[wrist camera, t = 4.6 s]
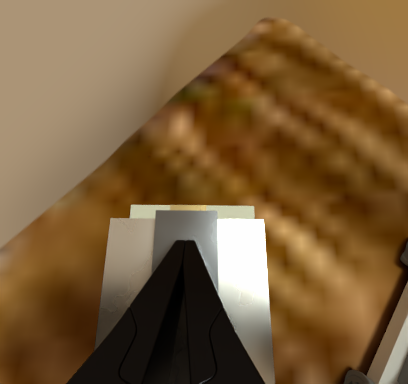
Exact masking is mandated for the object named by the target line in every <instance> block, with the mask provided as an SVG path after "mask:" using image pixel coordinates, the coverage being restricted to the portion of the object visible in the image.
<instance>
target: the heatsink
mask: <svg viewBox="0 0 408 384" xmlns="http://www.w3.org/2000/svg"><path fill="white" fill-rule="evenodd" d="M170 210H193V211H206V205H170ZM154 228H155V219H152V218H111V219H110V228H109V236H108V244H107V252H106V260H105V268H104V276H103V284H102V292H101V300H100V308H99V316H98V324H97V332H96V340H95V348H94V351H95V349H96V348H97V347H98V346H99V345H100V343H101V342H102V341H103V340H104V339H105V337H106V336H107V335H108V334H109V333H110V331H111V330H112V329H113V327H114V326H115V325H116V323H117V322H118V321H119V319H120V318H121V317H122V315H123V314H124V312H125V311H126V310H127V308H128V307H130V304H131V303H132V301H133V300H134V299H135V297H136V296H137V294H138V293H139V292H140V290H141V289H142V287H143V286H144V284H145V283H146V282H147V280H148V279H149V277H150V276H151V271H152V257H153V242H154ZM218 292H219V296H220V298H221V301H222V303H223V305H224V308H225V310H226V312H227V314H228V316H229V319H230V321H231V323H232V325H233V327H234V329H235V331H236V333H237V335H238V337H239V338H240V340H241V342H242V344H243V346H244V348H245V349H246V351H247V353H248V354H249V356H250V358H251V360H252V361H253V363H254V365H255V366H256V368H257V370H258V372H259V373H260V375H261V377H262V378H263V380H264V382H265V384H275V377H274V363H273V348H272V334H271V320H270V306H269V291H268V277H267V263H266V249H265V234H264V220H263V219H218Z"/></svg>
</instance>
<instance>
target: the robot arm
mask: <svg viewBox="0 0 408 384" xmlns="http://www.w3.org/2000/svg"><path fill="white" fill-rule="evenodd" d="M183 294H184V295H185V311H186V328H187V344H188V360H189V377H190V384H265V382H264V380H263V378H262V377H261V375H260V373H259V372H258V370H257V368H256V366H255V365H254V363H253V361H252V360H251V358H250V356H249V354H248V353H247V351H246V349H245V348H244V346H243V344H242V342H241V340H240V338H239V337H238V335H237V333H236V331H235V329H234V327H233V325H232V323H231V321H230V319H229V316H228V314H227V312H226V310H225V308H224V305H223V303H222V301H221V298H220V296H219V294H218V292H217V289H216V287H215V285H214V283H213V280H212V278H211V276H210V273H209V271H208V269H207V267H206V264H205V262H204V260H203V258H202V255H201V253H200V251H199V248H198V246H197V244H196V242H195V240H186V241H185V240H176V241H175V242H174V244H173V245H172V247H171V248H170V249H169V251H168V252H167V254H166V255H165V256H164V258H163V259H162V261H161V262H160V263H159V265H158V266H157V268H156V269H155V270H154V272H153V273H152V275H151V276H150V277H149V279H148V280H147V282H146V283H145V284H144V286H143V287H142V289H141V290H140V292H139V293H138V294H137V296H136V297H135V299H134V300H133V301H132V303H131V304H130V307H128V308H127V310H126V311H125V312H124V314H123V315H122V317H121V318H120V319H119V321H118V322H117V323H116V325H115V326H114V327H113V329H112V330H111V331H110V333H109V334H108V335H107V336H106V337H105V339H104V340H103V341H102V342H101V343H100V345H99V346H98V347H97V348H96V349H95V351H94V352H93V353H92V354H91V355H90V356H89V358H88V359H87V360H86V361H85V362H84V363H83V365H82V366H81V367H80V368H79V369H78V370H77V372H76V373H75V374H74V375H73V376H72V377H71V379H70V380H69V381H68V382H67V383H66V384H168V380H169V375H170V369H171V363H172V357H173V352H174V346H175V340H176V335H177V329H178V323H179V317H180V312H181V306H182V300H183Z"/></svg>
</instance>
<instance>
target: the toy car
mask: <svg viewBox="0 0 408 384" xmlns="http://www.w3.org/2000/svg"><path fill="white" fill-rule="evenodd" d="M400 260H401V261H402V262H403V263H404V264H405V265H407V266H408V242H407V245H406V249H405V251H404V253H403V254H402V255H401V258H400ZM344 384H408V282H407V284H406V286H405V289H404V291H403V293H402V296H401V298H400V300H399V302H398V305H397V307H396V309H395V312H394V314H393V316H392V318H391V321H390V323H389V325H388V328H387V330H386V332H385V334H384V337H383V339H382V341H381V344H380V346H379V348H378V350H377V353H376V355H375V357H374V360H373V362H372V364H371V366H370V369H369V371H368V373H367V375H364V374H363V373H362V372H360V371H357V370H349V371H348V372H347V374H346V377H345V382H344Z"/></svg>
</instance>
